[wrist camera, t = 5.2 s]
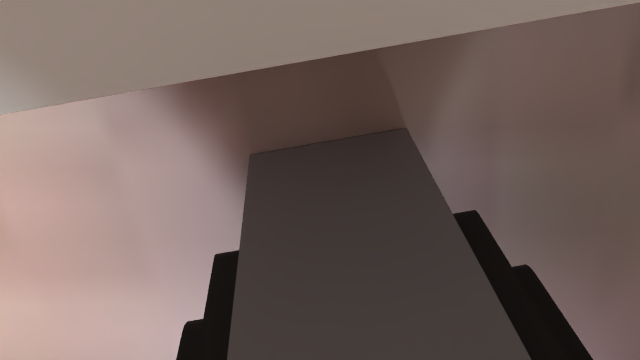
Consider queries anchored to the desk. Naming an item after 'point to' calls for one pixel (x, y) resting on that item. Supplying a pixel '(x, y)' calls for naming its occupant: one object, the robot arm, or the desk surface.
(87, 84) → the socket block
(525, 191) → the desk surface
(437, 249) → the grey long rectangular block
